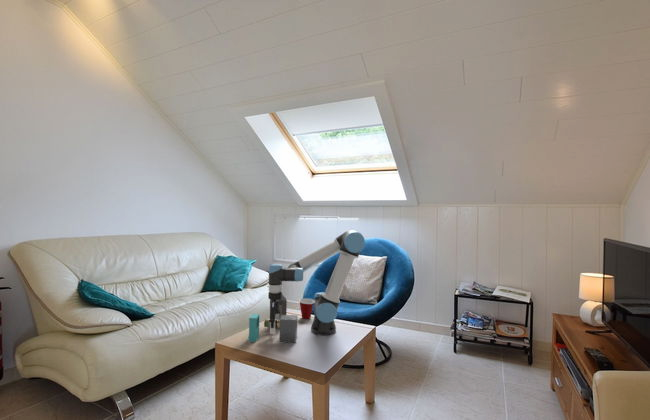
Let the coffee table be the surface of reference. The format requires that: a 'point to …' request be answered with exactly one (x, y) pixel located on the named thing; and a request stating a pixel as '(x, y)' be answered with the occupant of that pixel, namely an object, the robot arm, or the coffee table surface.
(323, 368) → the coffee table surface
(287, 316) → the grey matte cuboid
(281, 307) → the liquor
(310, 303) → the plastic cup
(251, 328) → the socket
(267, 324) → the brass tube
